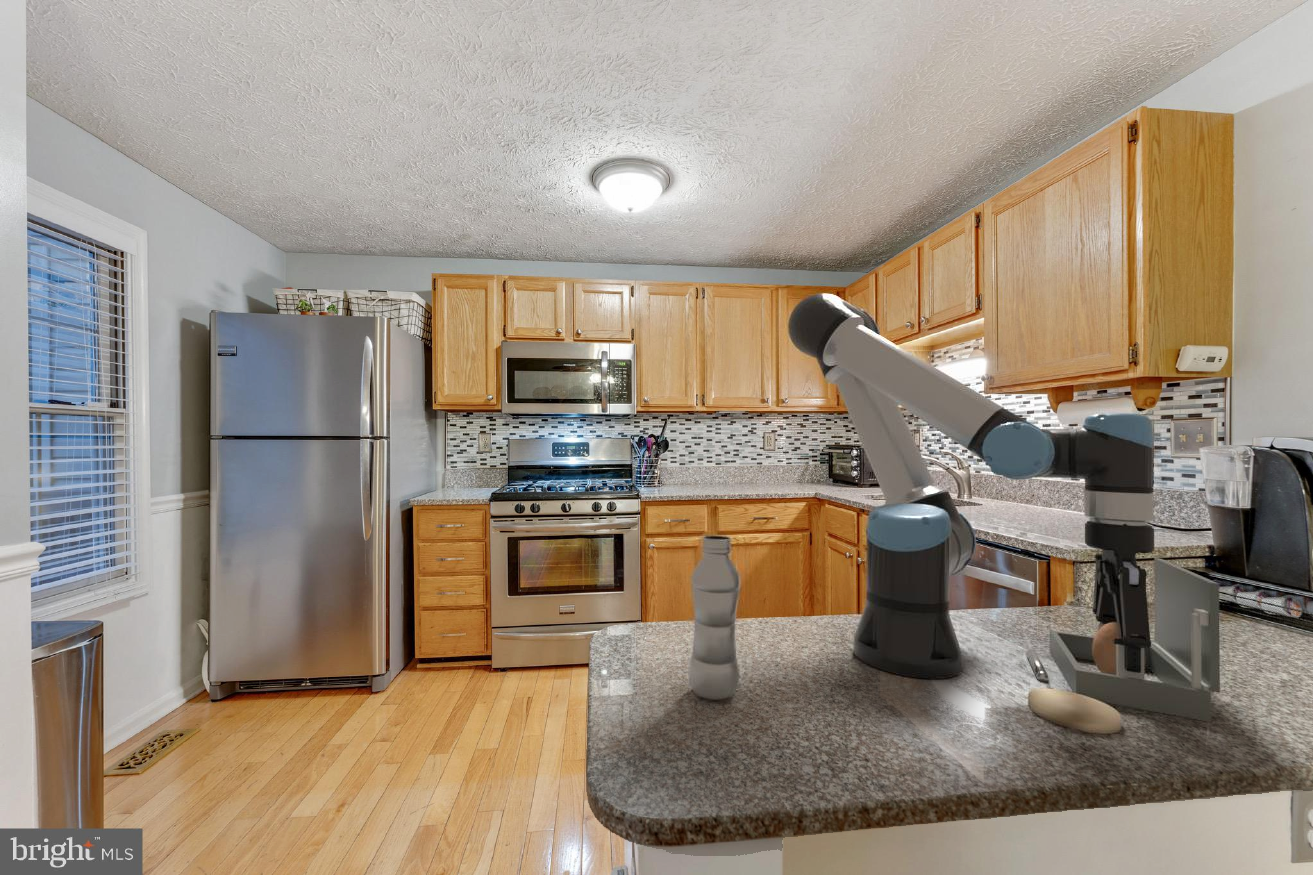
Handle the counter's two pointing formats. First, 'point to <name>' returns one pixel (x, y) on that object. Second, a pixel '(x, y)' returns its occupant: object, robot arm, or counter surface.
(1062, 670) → the grey hinged box
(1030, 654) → the rod
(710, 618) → the plastic bottle
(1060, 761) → the counter surface
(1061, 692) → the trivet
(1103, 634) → the egg
